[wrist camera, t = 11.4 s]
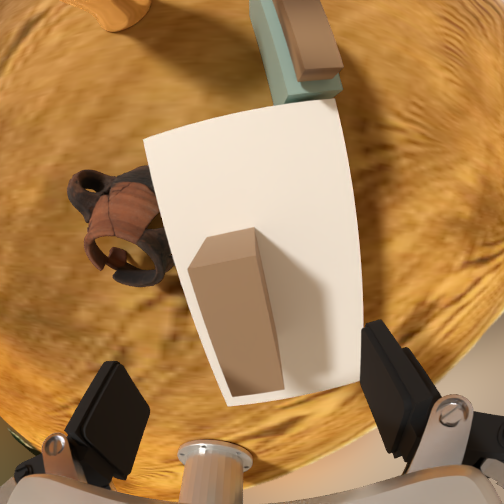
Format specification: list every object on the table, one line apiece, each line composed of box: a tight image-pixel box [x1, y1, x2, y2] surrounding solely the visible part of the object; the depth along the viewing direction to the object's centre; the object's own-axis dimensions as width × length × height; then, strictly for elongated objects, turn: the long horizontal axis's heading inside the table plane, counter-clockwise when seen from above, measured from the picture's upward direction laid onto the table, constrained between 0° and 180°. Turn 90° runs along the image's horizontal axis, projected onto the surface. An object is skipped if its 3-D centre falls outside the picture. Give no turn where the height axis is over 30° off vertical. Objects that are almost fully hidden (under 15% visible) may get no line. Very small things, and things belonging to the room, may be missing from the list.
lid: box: [143, 98, 363, 406], centre depth 16 cm, size 22×12×8 cm, turn 12°
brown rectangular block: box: [272, 0, 344, 82], centre depth 11 cm, size 10×2×2 cm, turn 12°
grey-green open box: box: [249, 0, 343, 106], centre depth 20 cm, size 34×13×8 cm, turn 12°
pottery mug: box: [67, 166, 175, 287], centre depth 22 cm, size 12×10×8 cm
